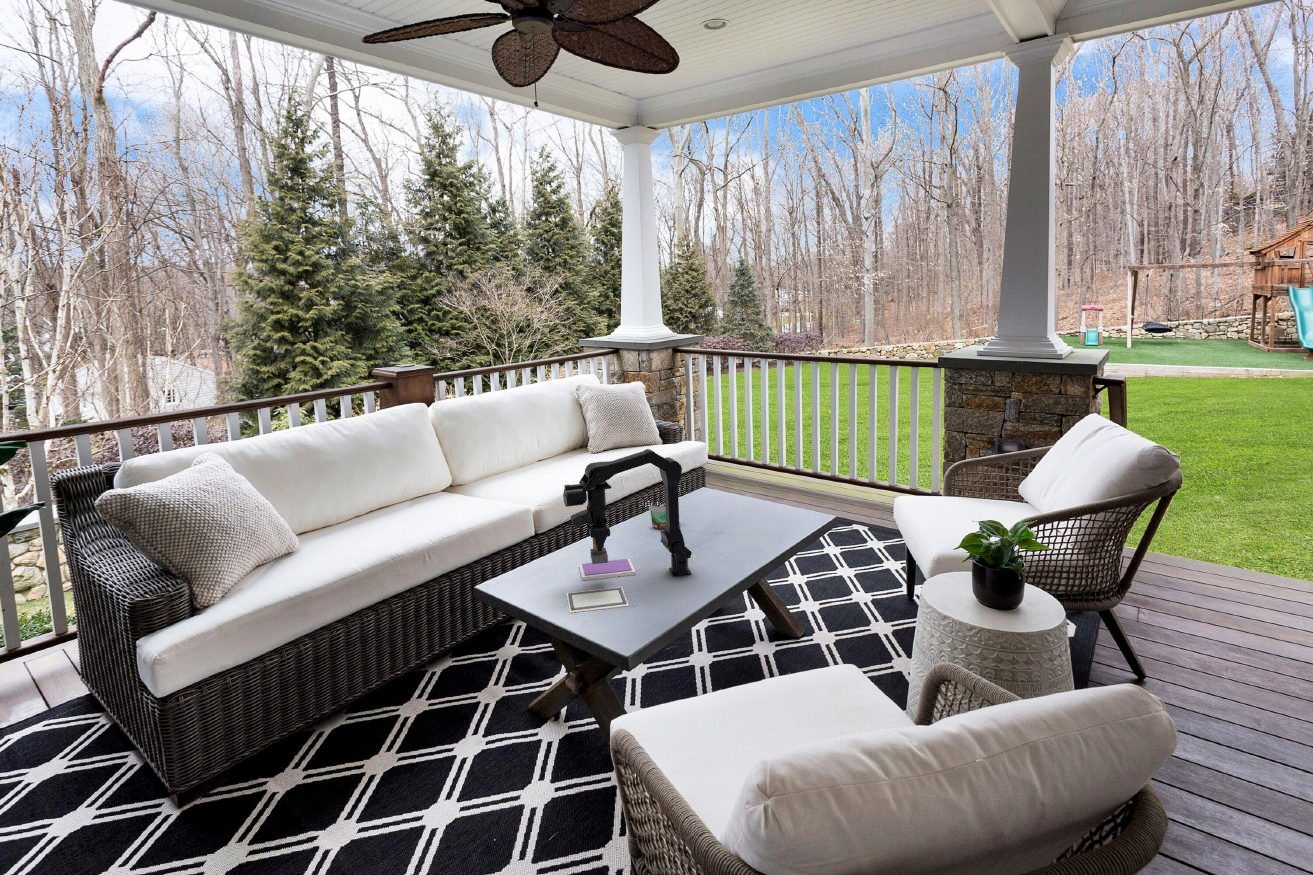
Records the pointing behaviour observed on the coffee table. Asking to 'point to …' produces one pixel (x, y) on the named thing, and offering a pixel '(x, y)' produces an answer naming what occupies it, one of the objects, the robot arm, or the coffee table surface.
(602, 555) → the stamp
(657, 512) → the food container
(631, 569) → the ink pad
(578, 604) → the marked board
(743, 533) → the coffee table surface
